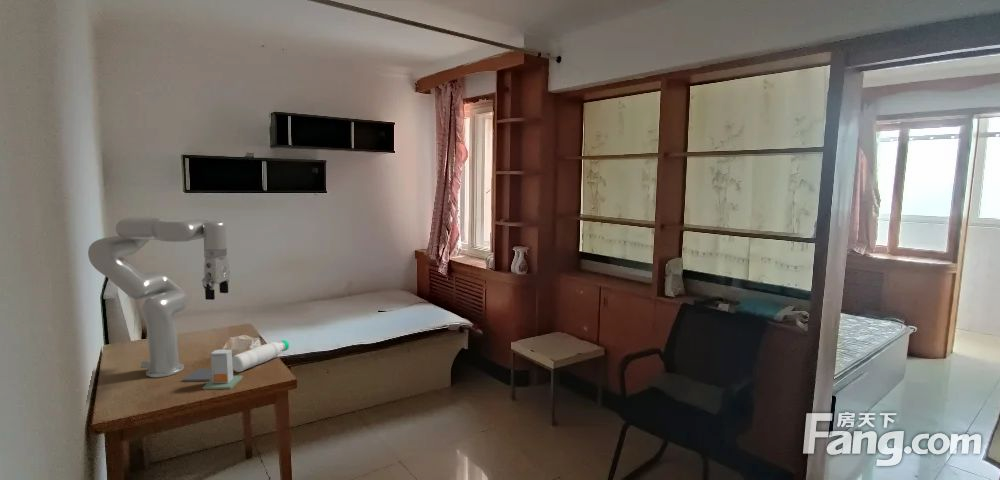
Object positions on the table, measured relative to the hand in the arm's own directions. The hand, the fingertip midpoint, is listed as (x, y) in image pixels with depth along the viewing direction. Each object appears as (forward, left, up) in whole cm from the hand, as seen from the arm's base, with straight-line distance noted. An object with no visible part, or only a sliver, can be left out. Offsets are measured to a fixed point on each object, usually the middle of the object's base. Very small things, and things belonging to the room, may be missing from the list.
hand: (217, 296), depth 188 cm
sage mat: (+5, -9, -32) cm, 33 cm away
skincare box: (+5, -9, -31) cm, 33 cm away
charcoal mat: (-6, -2, -32) cm, 33 cm away
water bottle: (+5, 0, -28) cm, 29 cm away
